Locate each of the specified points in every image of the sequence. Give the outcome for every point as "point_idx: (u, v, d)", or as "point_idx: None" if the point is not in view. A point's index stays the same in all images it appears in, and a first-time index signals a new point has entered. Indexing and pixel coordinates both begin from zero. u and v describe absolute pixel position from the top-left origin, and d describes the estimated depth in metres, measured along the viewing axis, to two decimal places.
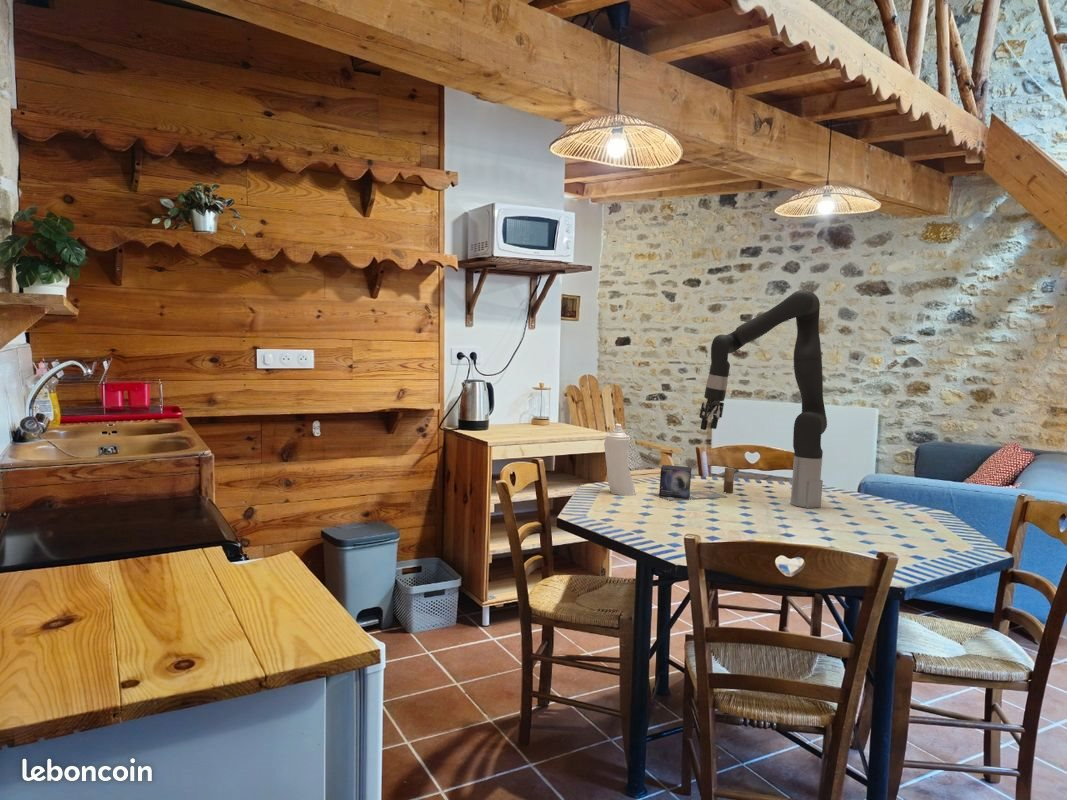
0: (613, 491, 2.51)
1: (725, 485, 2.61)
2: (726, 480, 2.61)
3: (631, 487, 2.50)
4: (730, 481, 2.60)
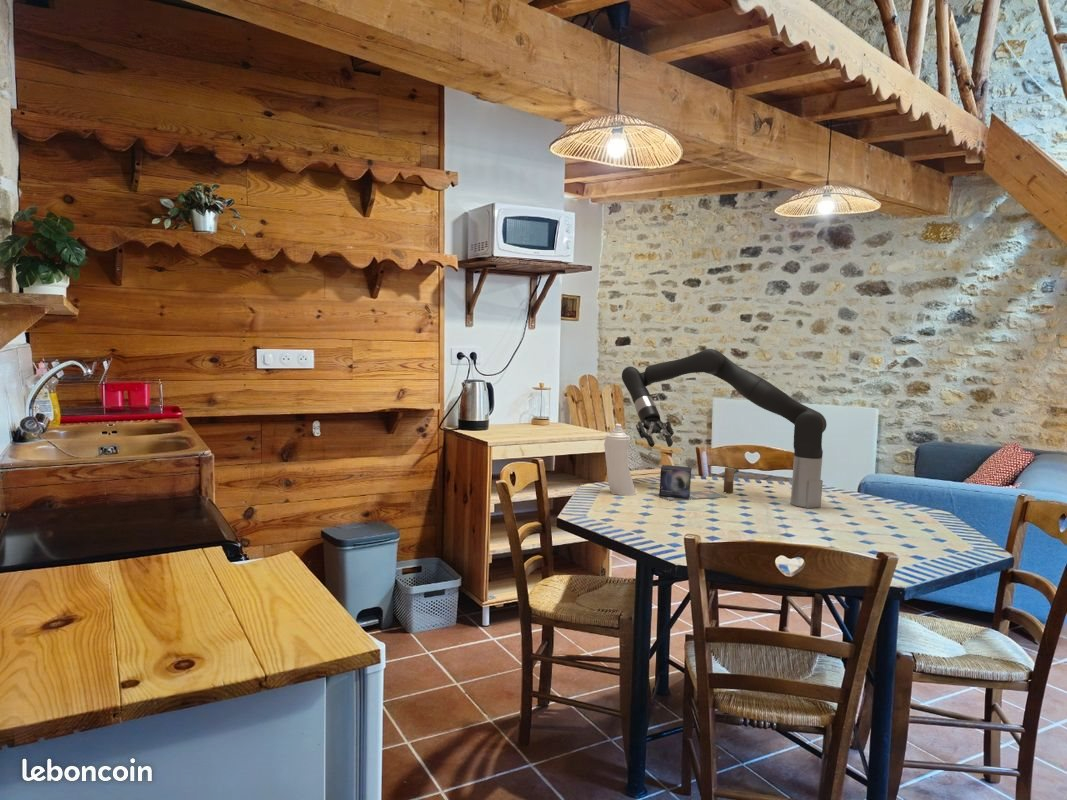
0: (613, 491, 2.51)
1: (725, 485, 2.61)
2: (726, 480, 2.61)
3: (631, 487, 2.50)
4: (730, 481, 2.60)
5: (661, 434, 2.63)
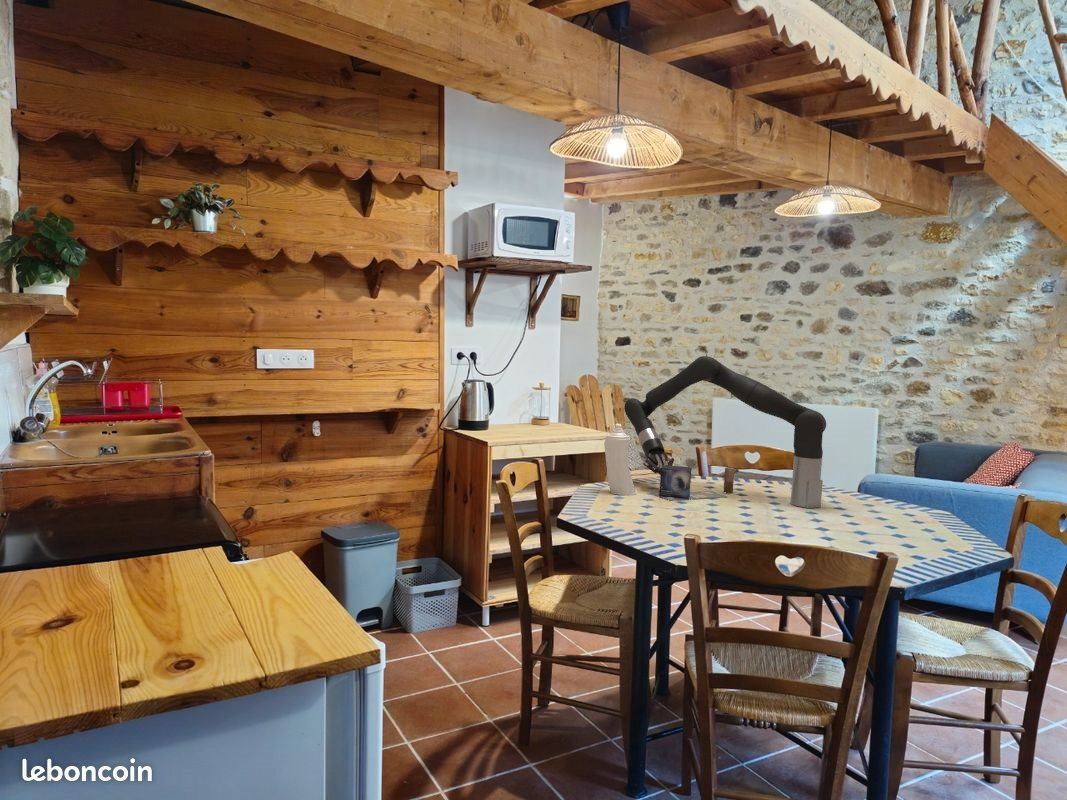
0: (613, 491, 2.51)
1: (725, 485, 2.61)
2: (726, 480, 2.61)
3: (631, 487, 2.50)
4: (730, 481, 2.60)
5: None
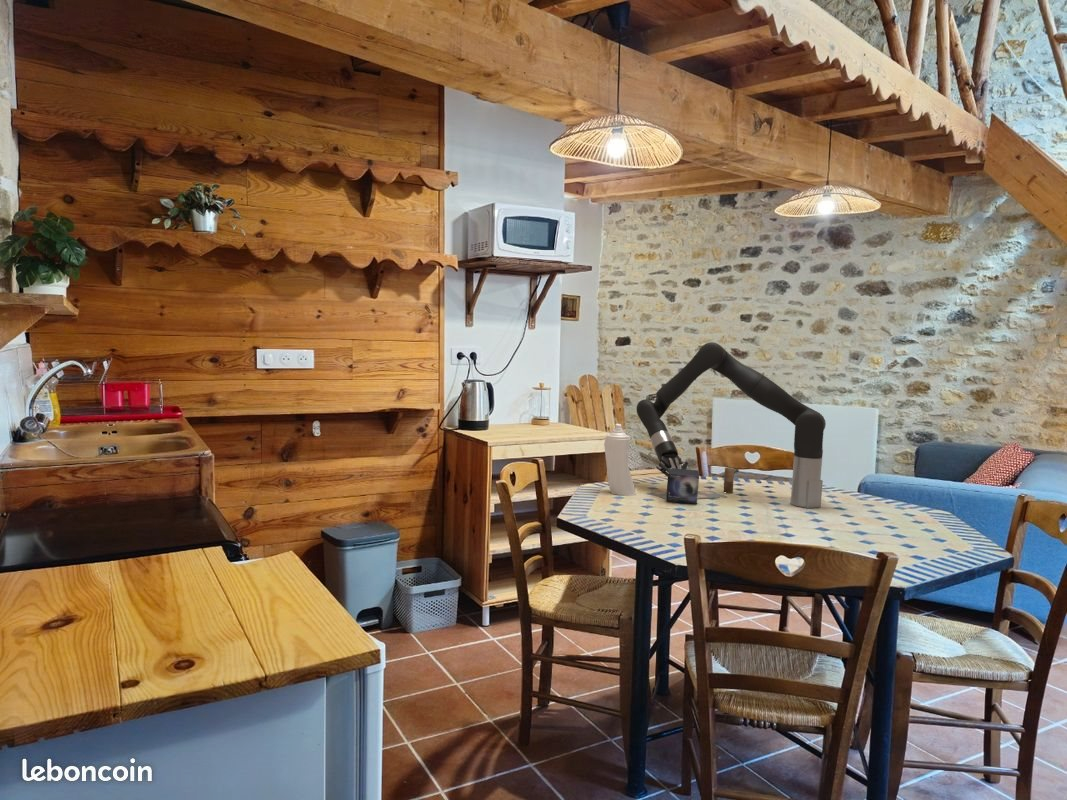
0: (613, 491, 2.51)
1: (725, 485, 2.61)
2: (726, 480, 2.61)
3: (631, 487, 2.50)
4: (730, 481, 2.60)
5: None
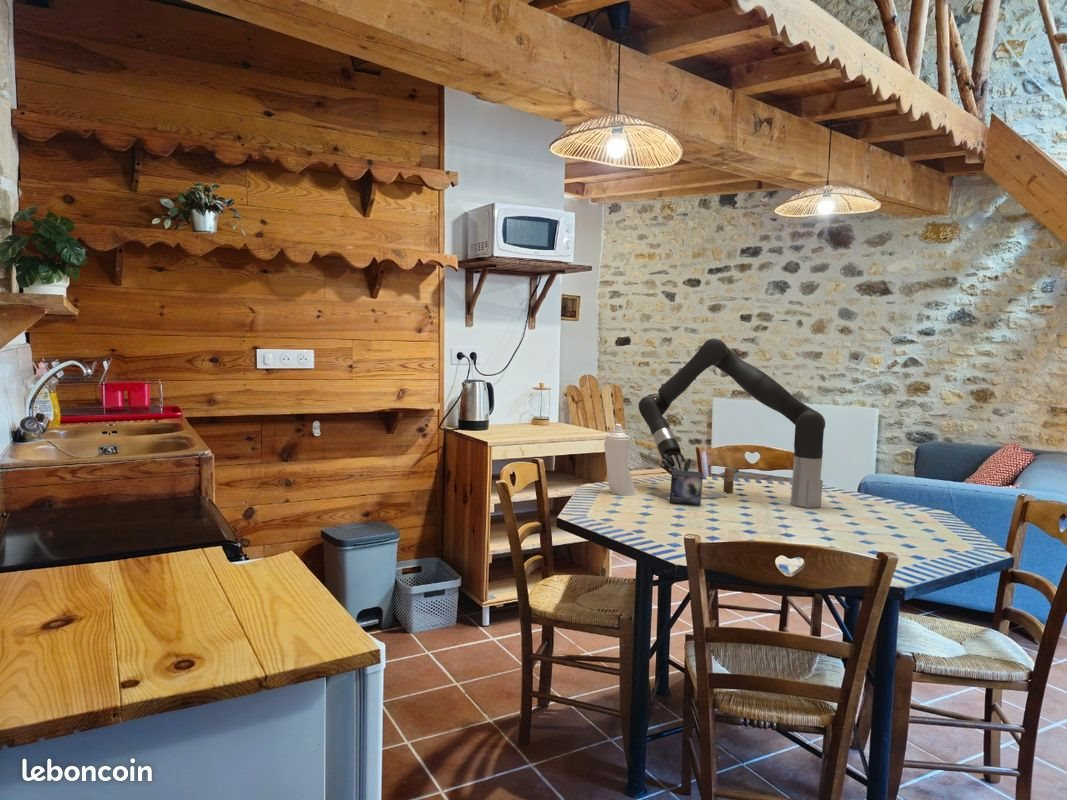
0: (613, 491, 2.51)
1: (725, 485, 2.61)
2: (726, 480, 2.61)
3: (631, 487, 2.50)
4: (730, 481, 2.60)
5: None
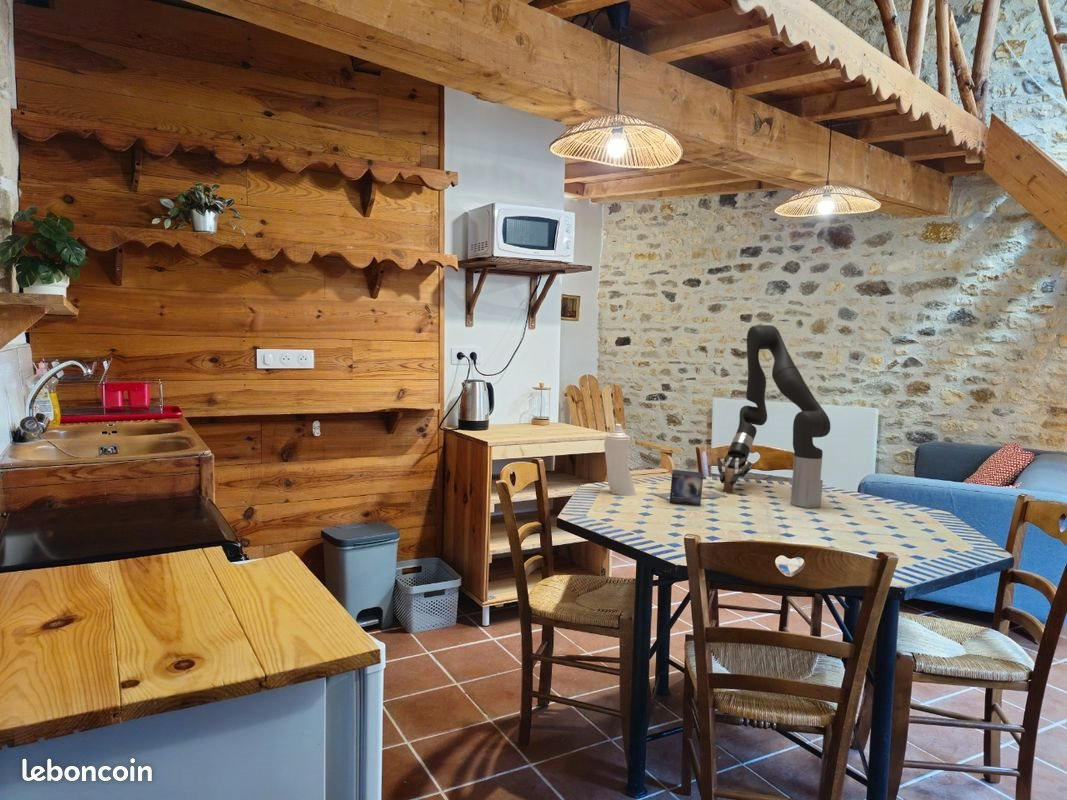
0: (613, 491, 2.51)
1: (725, 485, 2.61)
2: (726, 480, 2.61)
3: (631, 487, 2.50)
4: (730, 481, 2.60)
5: None
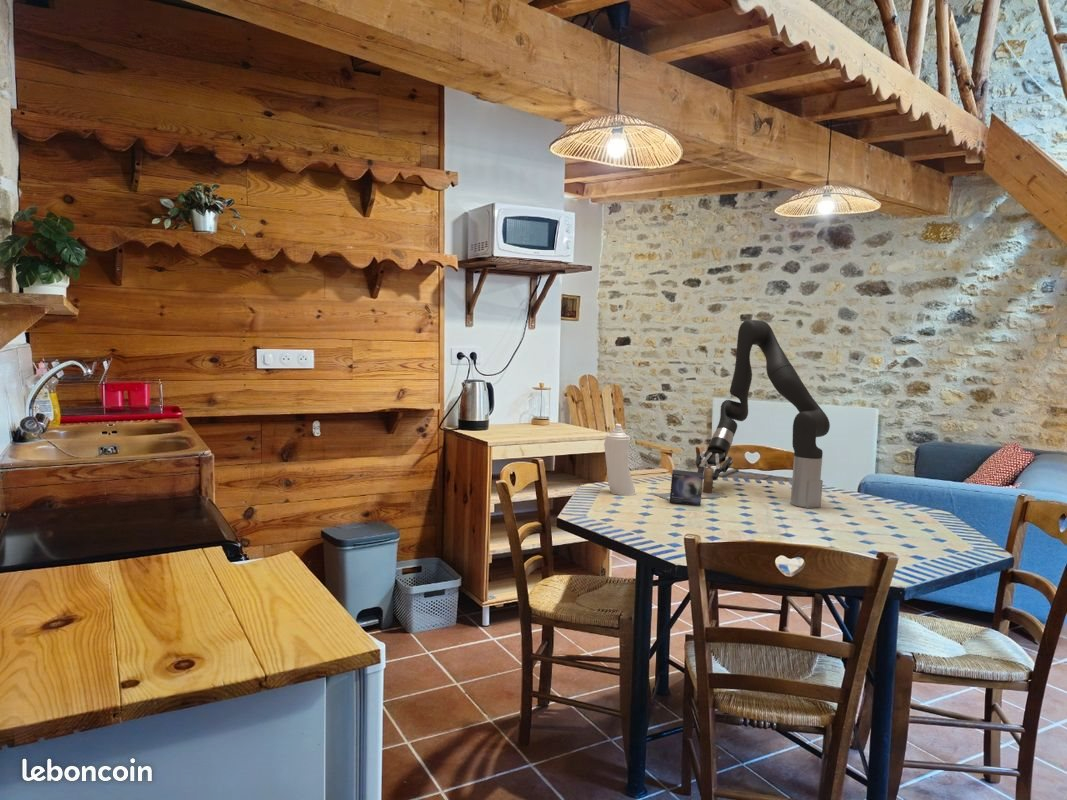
0: (613, 491, 2.51)
1: (704, 485, 2.57)
2: (705, 480, 2.57)
3: (631, 487, 2.50)
4: (709, 481, 2.56)
5: None
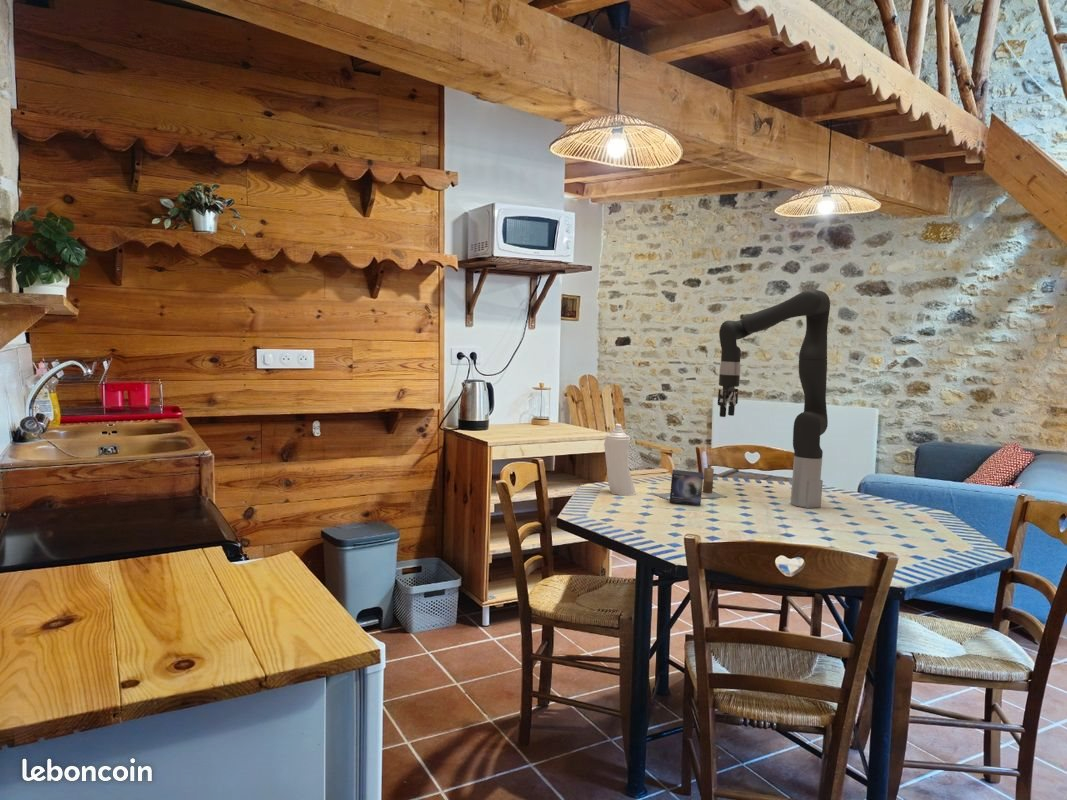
0: (613, 491, 2.51)
1: (704, 485, 2.57)
2: (705, 480, 2.57)
3: (631, 487, 2.50)
4: (709, 481, 2.56)
5: None
